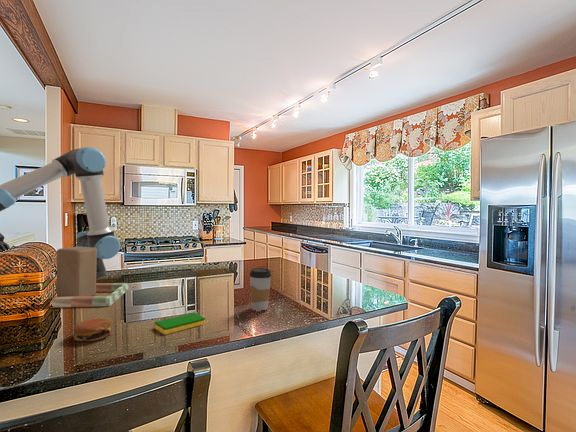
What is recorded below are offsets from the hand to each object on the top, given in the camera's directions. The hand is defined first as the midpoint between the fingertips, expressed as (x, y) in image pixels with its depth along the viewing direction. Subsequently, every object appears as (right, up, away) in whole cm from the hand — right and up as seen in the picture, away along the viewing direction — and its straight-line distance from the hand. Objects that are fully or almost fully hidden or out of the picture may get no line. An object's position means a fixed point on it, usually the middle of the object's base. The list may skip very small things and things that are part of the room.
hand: (35, 280), depth 125 cm
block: (+13, -8, +4) cm, 16 cm away
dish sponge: (+63, -11, -22) cm, 68 cm away
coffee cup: (+87, -11, -2) cm, 88 cm away
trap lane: (+19, -8, +5) cm, 22 cm away
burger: (+42, -10, -32) cm, 54 cm away
